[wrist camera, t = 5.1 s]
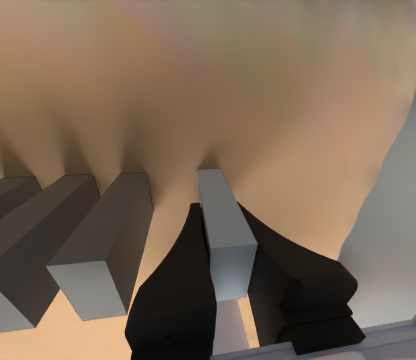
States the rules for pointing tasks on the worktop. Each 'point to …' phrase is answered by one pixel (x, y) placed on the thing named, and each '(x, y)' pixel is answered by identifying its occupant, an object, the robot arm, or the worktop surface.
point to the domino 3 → (225, 236)
